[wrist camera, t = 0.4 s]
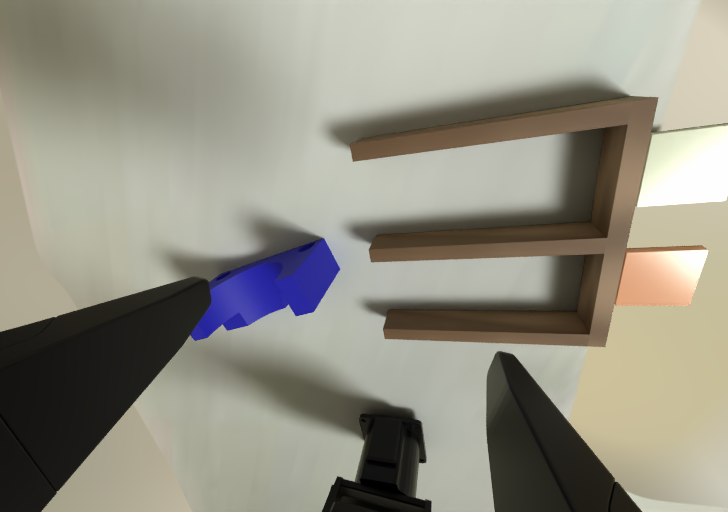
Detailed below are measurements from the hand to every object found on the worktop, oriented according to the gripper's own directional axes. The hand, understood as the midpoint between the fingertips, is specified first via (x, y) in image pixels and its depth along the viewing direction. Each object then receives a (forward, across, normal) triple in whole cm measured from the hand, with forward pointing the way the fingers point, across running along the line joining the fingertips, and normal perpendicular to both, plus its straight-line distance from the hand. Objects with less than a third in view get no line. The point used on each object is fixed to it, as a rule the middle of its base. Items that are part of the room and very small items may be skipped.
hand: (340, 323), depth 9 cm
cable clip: (+15, +10, +10) cm, 20 cm away
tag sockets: (+14, -6, +2) cm, 16 cm away
